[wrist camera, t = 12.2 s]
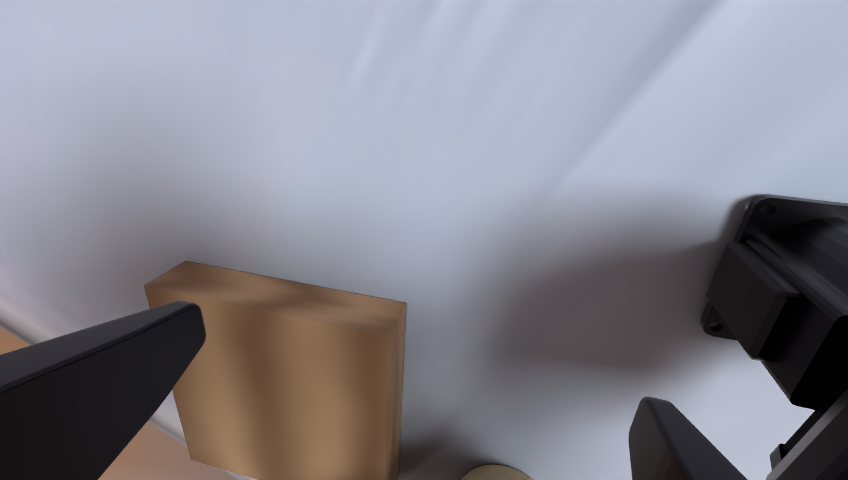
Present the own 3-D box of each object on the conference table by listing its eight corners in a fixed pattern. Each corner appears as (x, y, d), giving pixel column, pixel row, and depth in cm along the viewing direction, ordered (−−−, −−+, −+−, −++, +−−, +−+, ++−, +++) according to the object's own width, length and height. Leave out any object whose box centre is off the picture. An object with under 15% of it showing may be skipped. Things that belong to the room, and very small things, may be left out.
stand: (406, 303, 22) (389, 336, 20) (398, 473, 28) (384, 517, 26) (185, 261, 25) (143, 285, 22) (220, 424, 31) (191, 459, 28)
